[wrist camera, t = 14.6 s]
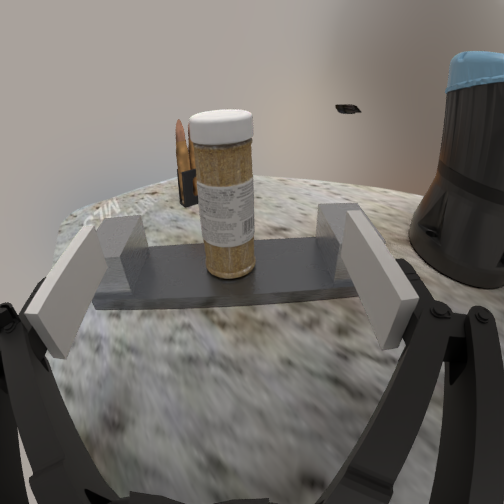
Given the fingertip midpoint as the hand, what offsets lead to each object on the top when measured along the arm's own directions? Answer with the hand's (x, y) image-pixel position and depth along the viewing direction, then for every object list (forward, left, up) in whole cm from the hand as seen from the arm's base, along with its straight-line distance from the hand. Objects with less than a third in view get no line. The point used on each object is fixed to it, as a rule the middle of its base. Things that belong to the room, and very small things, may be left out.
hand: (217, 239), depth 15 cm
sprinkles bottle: (-7, -6, -9) cm, 13 cm away
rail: (-7, -6, -10) cm, 13 cm away
